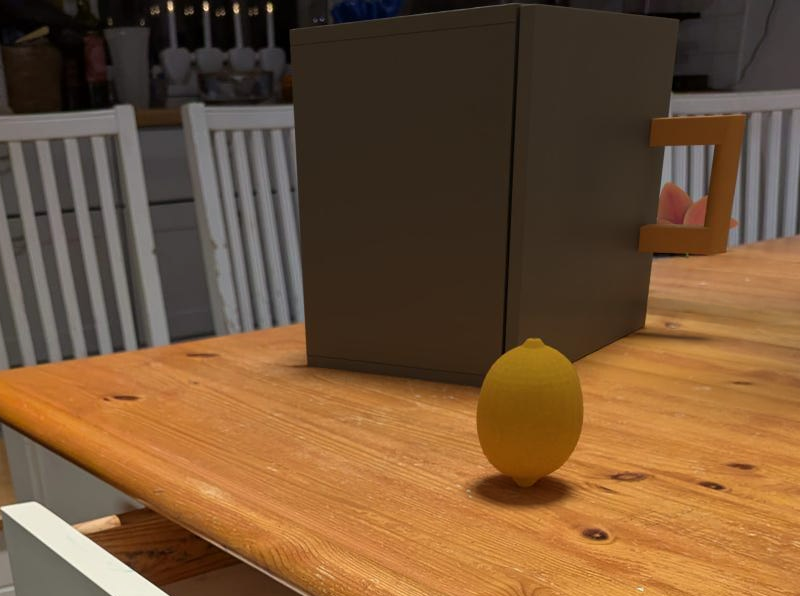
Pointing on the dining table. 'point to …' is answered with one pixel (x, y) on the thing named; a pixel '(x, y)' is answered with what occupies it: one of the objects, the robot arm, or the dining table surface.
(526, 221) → the cupboard door
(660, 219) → the lily
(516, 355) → the lemon
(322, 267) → the cupboard
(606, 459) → the dining table surface
